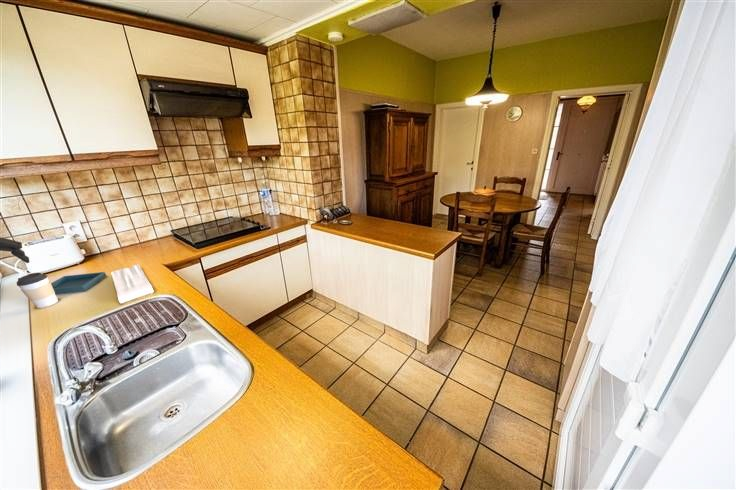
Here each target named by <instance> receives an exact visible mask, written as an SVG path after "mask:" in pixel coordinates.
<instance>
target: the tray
mask: <svg viewBox="0 0 736 490" xmlns="http://www.w3.org/2000/svg"><path fill="white" fill-rule="evenodd" d="M107 277H108V275H107V273H106V271H101V272H99V271H98V272H90V273H81V274H72V275H63V276H62V277H60V278H58V279H56V280H54V281H52V282H50V283H51V285H52V287H53V289H54V292H55V295H56V296H57V295H66V294H77V293H84V292H87V291H88V290H90V289H92V288H93V287H94V286H96V285H98V284H99V283H100V282H102V281H103V280H105V279H106V278H107Z"/></svg>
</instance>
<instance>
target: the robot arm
mask: <svg viewBox="0 0 736 490" xmlns="http://www.w3.org/2000/svg"><path fill="white" fill-rule="evenodd" d="M22 243H23V242H21V241H17V240H13V239H10V238H6V237H1V236H0V252H8V253H9V252H10V254H11V255H13V256H14V257H16V258H17V259H19V260H21V261H22V262H23V263H26V264H29V263H30V257H29V256H27V255H26V253H25V251H24V250H23V244H22Z"/></svg>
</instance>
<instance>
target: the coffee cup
mask: <svg viewBox="0 0 736 490" xmlns="http://www.w3.org/2000/svg"><path fill="white" fill-rule="evenodd" d="M51 283H52V282H51V280H50V279H49V278H48V275H47V274H45V273H41V272H33V273H30V274H26V275H24V276H21V277H18V278H17V281H16V286H17V287H19V289H20V291H21V292H22V293H23V294H24V295H25V296H26V298H27V299H28V300H29V301H30V302H31V303H32V304H33V305H34V306H35V308H37V309H43V308H44V309H45V308H47V307H49V306H53V305H54V304H56V303H58V301H59V300H58V299H59V298H58V297H57V295H55V292H54V289H53V287H52V285H51Z"/></svg>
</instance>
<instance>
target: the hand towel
mask: <svg viewBox="0 0 736 490" xmlns="http://www.w3.org/2000/svg"><path fill="white" fill-rule="evenodd" d="M110 274H111V278H112V280H113V284H114V288H115V291H116V297H117V299H118V301H119V303H120V304H121V305H122V304H125V303H129V302H131V301H133V300H136V299H140V298H142V297H145V296H147V295H151V294H153V293H154V292H155V290H154V288H153V286H152V284H151V282H150V281H149V280H148V278H147V276H146V274H145V273H144V271H143V269H142V267H140V264H139V263H137V264H133V265H131V266H130V267H124V268H120V269H117V270H114V271H111V272H110Z"/></svg>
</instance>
